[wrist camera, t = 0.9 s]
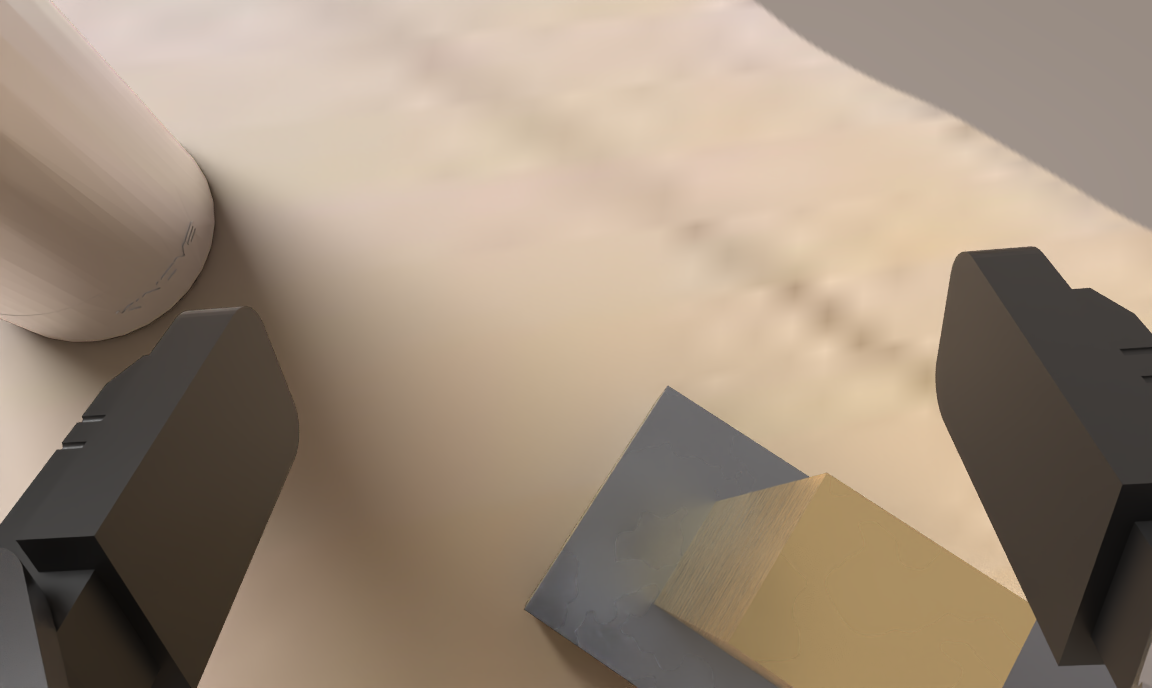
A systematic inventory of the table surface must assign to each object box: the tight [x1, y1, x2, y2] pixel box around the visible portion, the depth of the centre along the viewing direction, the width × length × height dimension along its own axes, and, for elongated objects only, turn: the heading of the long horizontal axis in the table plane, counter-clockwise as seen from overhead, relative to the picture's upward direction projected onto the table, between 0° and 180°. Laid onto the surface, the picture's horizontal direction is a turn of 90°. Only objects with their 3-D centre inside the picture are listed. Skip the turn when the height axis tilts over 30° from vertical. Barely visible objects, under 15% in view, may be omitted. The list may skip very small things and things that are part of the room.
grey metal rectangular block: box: [524, 386, 809, 688], centre depth 31 cm, size 12×9×3 cm
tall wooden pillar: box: [654, 473, 1036, 688], centre depth 23 cm, size 5×4×12 cm
